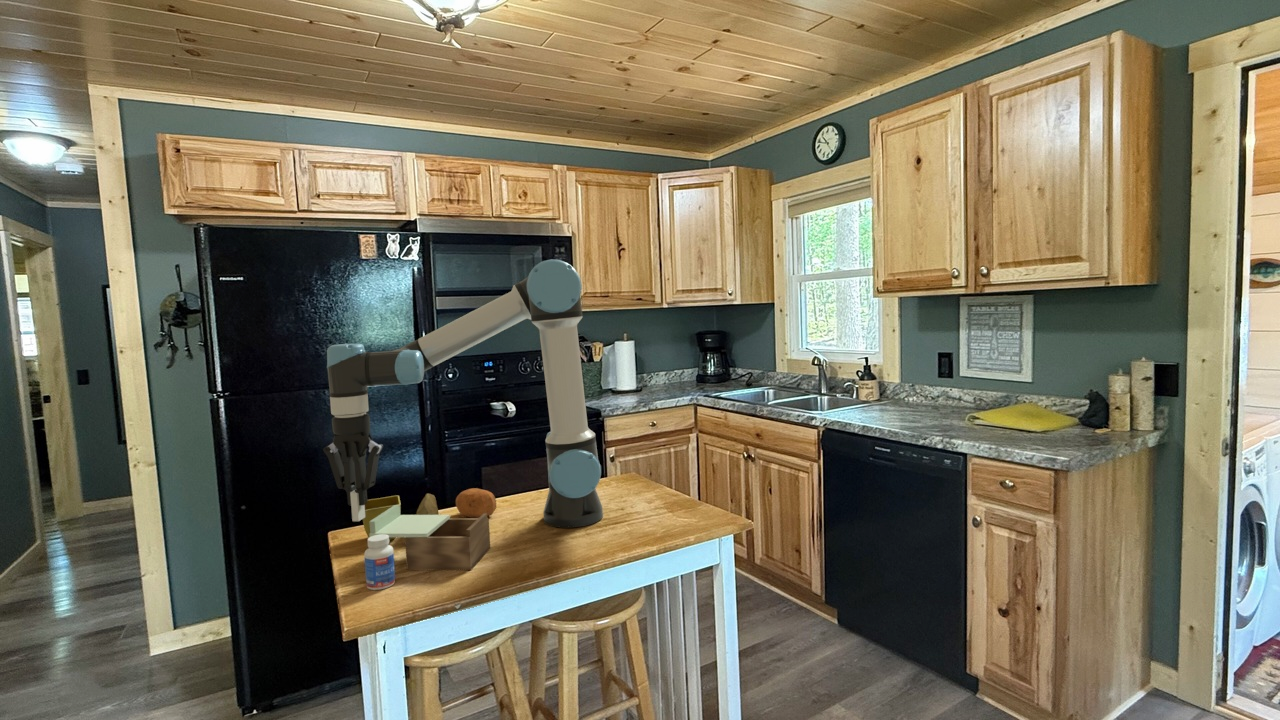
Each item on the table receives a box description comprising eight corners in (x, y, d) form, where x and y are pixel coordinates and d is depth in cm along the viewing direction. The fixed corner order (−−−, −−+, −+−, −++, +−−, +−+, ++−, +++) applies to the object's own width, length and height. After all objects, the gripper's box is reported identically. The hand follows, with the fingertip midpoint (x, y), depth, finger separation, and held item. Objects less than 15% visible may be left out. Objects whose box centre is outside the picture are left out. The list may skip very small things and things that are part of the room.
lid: (449, 518, 144) (448, 504, 144) (427, 537, 132) (426, 522, 132) (396, 518, 145) (395, 504, 145) (369, 537, 134) (368, 522, 133)
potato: (468, 525, 159) (466, 496, 159) (449, 515, 168) (447, 488, 167) (500, 516, 165) (499, 488, 165) (481, 507, 174) (479, 480, 173)
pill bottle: (377, 593, 123) (373, 544, 122) (360, 587, 126) (356, 540, 125) (401, 582, 127) (397, 535, 126) (384, 576, 130) (381, 531, 129)
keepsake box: (490, 548, 144) (488, 512, 143) (471, 570, 132) (468, 531, 131) (431, 548, 145) (429, 512, 144) (407, 569, 133) (404, 531, 132)
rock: (451, 531, 149) (453, 513, 158) (425, 507, 146) (429, 489, 156) (415, 561, 148) (419, 540, 158) (388, 537, 146) (395, 518, 155)
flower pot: (363, 548, 147) (360, 510, 146) (363, 536, 155) (360, 500, 154) (403, 541, 150) (400, 504, 150) (401, 529, 158) (399, 494, 158)
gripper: (387, 410, 141) (395, 513, 143) (332, 412, 142) (341, 513, 144) (369, 416, 133) (378, 525, 135) (312, 418, 135) (321, 525, 137)
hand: (359, 519), depth 140 cm, fingers closed
